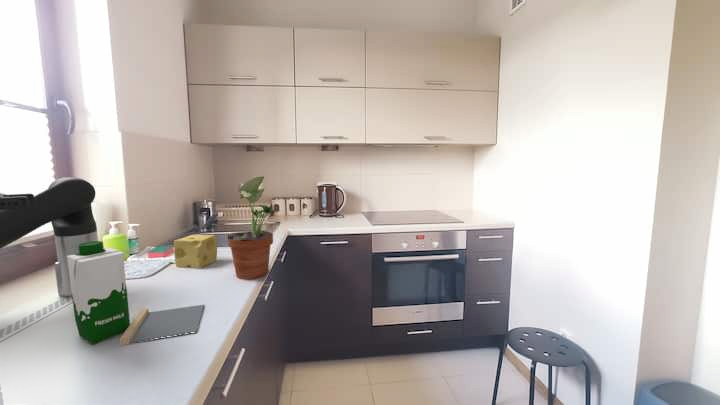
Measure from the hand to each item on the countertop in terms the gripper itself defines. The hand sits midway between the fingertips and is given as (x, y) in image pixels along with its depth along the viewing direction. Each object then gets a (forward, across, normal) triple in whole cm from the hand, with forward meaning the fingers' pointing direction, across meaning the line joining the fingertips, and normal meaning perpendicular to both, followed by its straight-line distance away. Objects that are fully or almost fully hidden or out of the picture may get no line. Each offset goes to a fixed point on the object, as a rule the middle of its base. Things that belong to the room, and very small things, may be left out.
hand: (30, 200), depth 62 cm
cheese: (+36, -38, -30) cm, 61 cm away
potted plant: (+48, -14, -30) cm, 59 cm away
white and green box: (+9, +2, -30) cm, 32 cm away
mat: (+20, +6, -30) cm, 37 cm away
